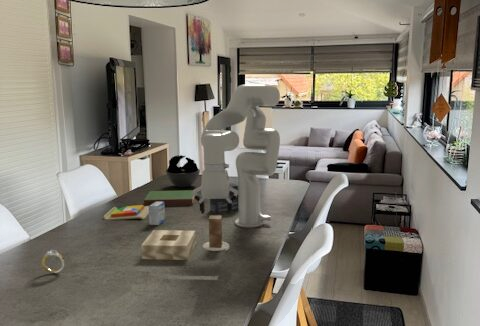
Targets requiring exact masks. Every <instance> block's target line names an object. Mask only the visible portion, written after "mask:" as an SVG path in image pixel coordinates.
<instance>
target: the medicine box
mask: <svg viewBox="0 0 480 326" xmlns="http://www.w3.org/2000/svg"><path fill="white" fill-rule="evenodd" d="M165 208H166V206H164V202H154V203H153V204H151V205H150V206H149V214H148V220H149V225H151V226H160V225H161V224H162V223H163V222H165V221H166V212H165Z"/></svg>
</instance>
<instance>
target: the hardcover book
mask: <svg viewBox="0 0 480 326" xmlns="http://www.w3.org/2000/svg"><path fill="white" fill-rule="evenodd" d="M193 190H194V189H193ZM193 190H191V189H190V190H189V189H188V190H152V191H151V190H150V191H149V192H148V193H147V194H146V196H145V198H144V199H143V206H150V205H151V204H153V203H154V202H164V206H165V207H166V206H167V207H168V206H169V207H171V206H172V207H174V206H175V207H177V206H179V207H180V206H193V204H194V201H195V197H194V196H193V194H192V191H193Z"/></svg>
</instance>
